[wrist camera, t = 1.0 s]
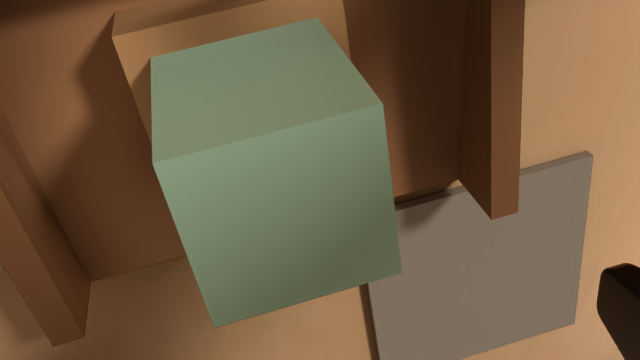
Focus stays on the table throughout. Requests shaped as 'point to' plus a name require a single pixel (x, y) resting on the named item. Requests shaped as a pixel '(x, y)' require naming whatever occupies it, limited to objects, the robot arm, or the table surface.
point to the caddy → (136, 120)
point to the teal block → (273, 169)
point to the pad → (484, 267)
